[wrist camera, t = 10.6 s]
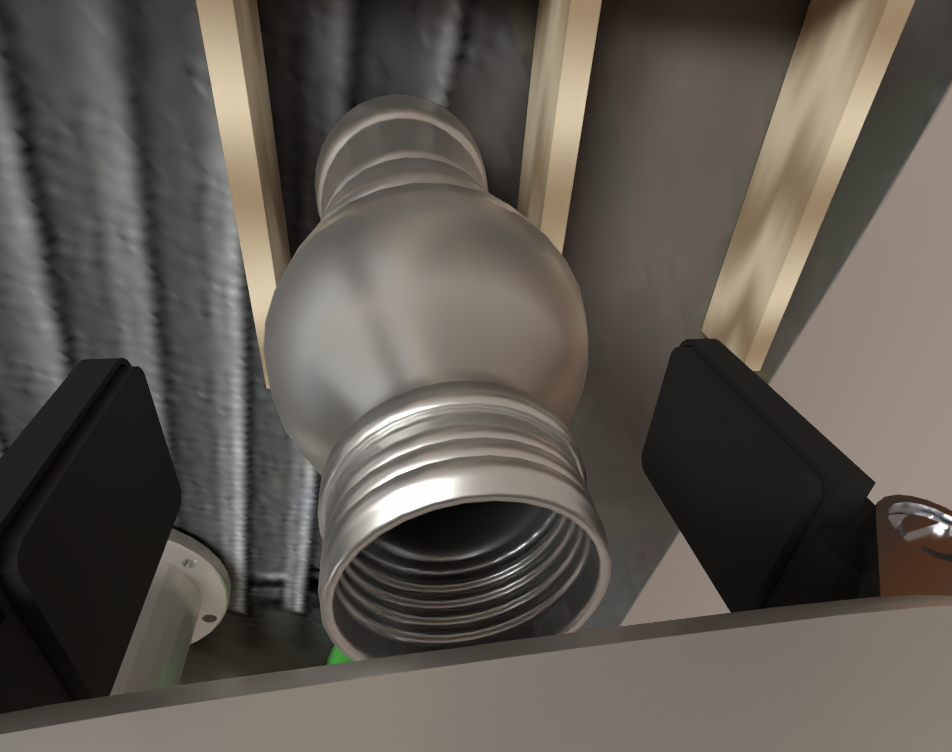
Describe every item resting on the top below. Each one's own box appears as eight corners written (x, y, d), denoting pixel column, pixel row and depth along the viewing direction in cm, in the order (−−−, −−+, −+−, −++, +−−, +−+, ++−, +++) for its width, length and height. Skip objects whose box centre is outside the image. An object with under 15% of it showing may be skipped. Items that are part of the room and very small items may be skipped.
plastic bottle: (319, 244, 24) (210, 757, 8) (320, 70, 20) (116, 345, 4) (463, 257, 25) (629, 716, 9) (488, 96, 22) (835, 380, 6)
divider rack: (712, 346, 31) (752, 387, 27) (282, 358, 27) (270, 407, 24) (856, -65, 21) (947, -78, 17) (205, -137, 17) (164, -170, 14)
